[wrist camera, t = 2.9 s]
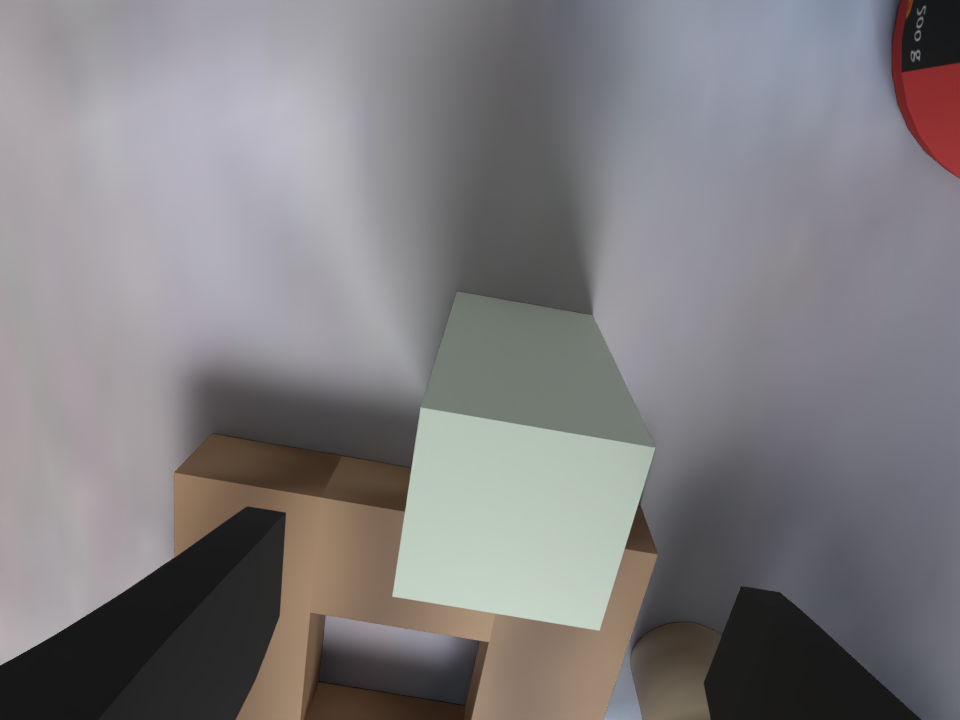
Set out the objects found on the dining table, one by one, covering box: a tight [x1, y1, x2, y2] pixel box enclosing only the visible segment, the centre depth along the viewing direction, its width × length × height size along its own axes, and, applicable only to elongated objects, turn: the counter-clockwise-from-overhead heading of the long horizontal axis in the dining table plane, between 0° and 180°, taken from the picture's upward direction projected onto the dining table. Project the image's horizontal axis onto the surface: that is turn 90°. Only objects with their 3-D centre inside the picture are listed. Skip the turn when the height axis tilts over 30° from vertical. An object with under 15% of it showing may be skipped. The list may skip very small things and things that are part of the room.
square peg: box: [392, 291, 655, 631], centre depth 15 cm, size 4×4×8 cm
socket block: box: [174, 434, 658, 720], centre depth 21 cm, size 14×14×2 cm
